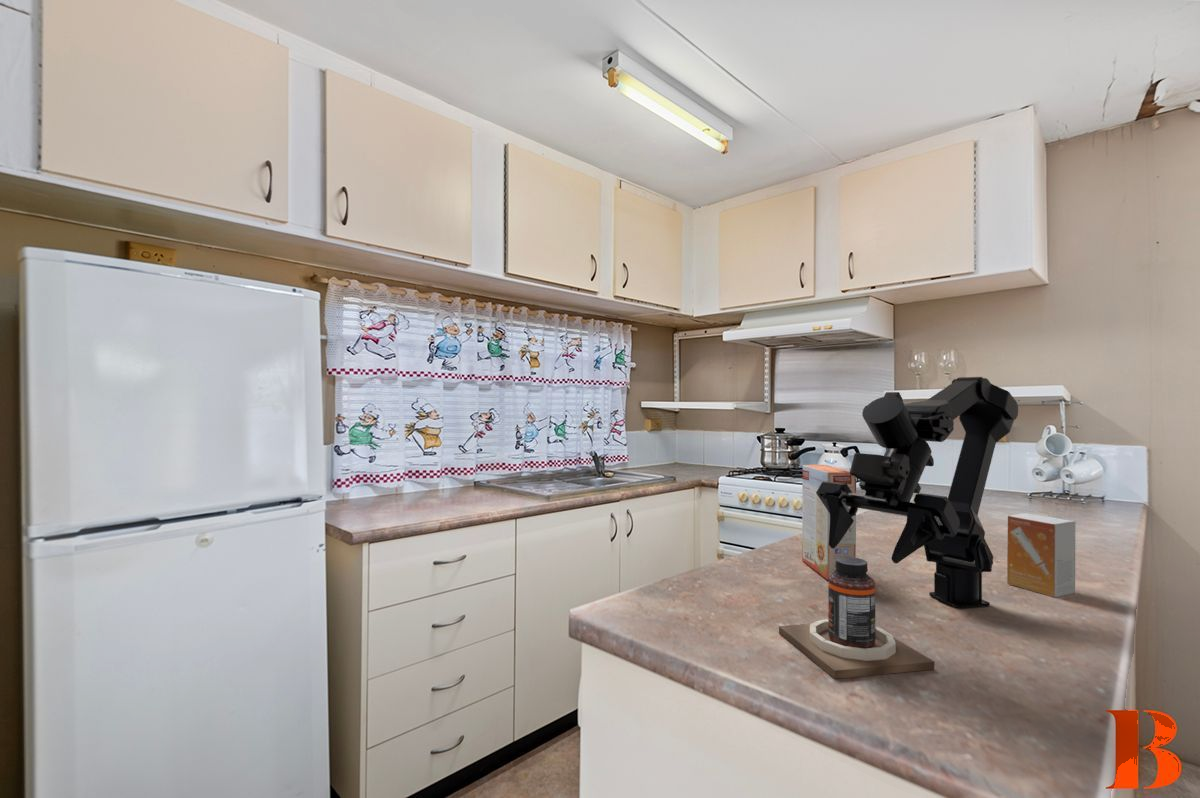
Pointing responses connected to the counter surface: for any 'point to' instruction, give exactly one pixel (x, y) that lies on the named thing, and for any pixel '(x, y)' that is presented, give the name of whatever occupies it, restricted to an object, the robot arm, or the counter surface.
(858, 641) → the supplement bottle
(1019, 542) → the small box
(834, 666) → the board
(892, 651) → the collar
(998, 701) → the counter surface
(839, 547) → the cracker box
